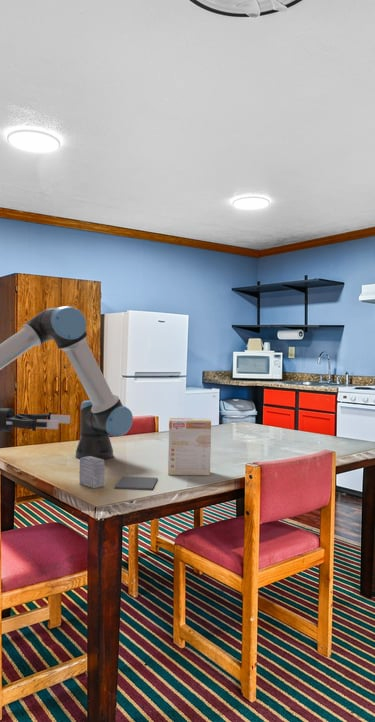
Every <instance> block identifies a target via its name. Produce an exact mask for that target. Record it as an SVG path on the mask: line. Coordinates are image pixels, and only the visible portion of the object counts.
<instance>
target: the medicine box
mask: <svg viewBox="0 0 375 722" xmlns="http://www.w3.org/2000/svg"><path fill="white" fill-rule="evenodd" d="M79 485H81V486H85V487H88V488H91V489H98V488H103V487H104V486H105V459H100V458H96V457H92V456H88V457H82V458H79Z"/></svg>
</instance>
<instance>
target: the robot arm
mask: <svg viewBox="0 0 375 722" xmlns="http://www.w3.org/2000/svg"><path fill="white" fill-rule="evenodd" d="M86 320H87V319H86V317H85V316H84V314H83V312H82V311H80V309H78V308H76V307H73V306H68V305H63V306H57V307H49V308H46V309H44V310H42V311H41V312H39V313H38V314H36V315H35V316H33V317H32V318H31V319H29V320H28V321H26V322H25V323H23V325H22V329H20V330H19V331H18V332H16V333H15V334H12V335H11V336H10V337H8V338H7V339H6V340H4V341H3V342H1V343H0V371H1V370H3V368H5V367H6V366H8V365H9V364H11V363H12V362H14V361H15V360H17V359H18V358H19V357H21V356H22V355H24V354H25V353H27V352H28V351H29V350H31V349H32V348H34V347H35V346H36V347H39V346H41V345H43V344H44V343H45V342H48V341H52V340H53V341H54V343H55V344H56V346H57V348H58V349H59V350H62V351H64V353H65V354H66V356H67V358H68V360H69V363H70V365H71V366H72V368H73V370H74V372H75V374H76V375H77V378H78V380H79V382H80V383H81V385H82V387H83V389H84V391H85V393H86V394H87V397H88V399H89V400H83V401H82V402H81V406H80V438H79V440H78V444H77V446H76V449H75V457H76V458H78V459H80V458H82V457H88V456H92V457H96V458H100V459H103V460H107V459H111V458H113V457H114V450H113V446H112V442H111V439H110V436H111V437H121V436H124V435H126V434H127V433H128V432H129V431H130V429H131V427H132V424H133V422H134V421H133V420H134V417H133V413H132V410H130V409H129V408H128V407H127V406H124V405H123V403H122V401H121V400H120V397H119V396H118V395H115V394H113V392H112V390H111V388H110V386H109V384H108V383H107V381H106V378H105V375H104V374H103V372H102V371H101V368H100V366H99V365H98V362H97V360H96V358H95V356H94V355H93V352H92V350H91V348H90V347H89V344H88V343H87V339H88V333H87V331H86V329H87V328H86V327H87V321H86ZM59 424H71V415H70V414H52V412H50V411H49V412H48V413H35V414H33V413H18V414H15V411H14V409H13V408H7V407H5V408H4V407H1V408H0V432H7V433H8V432H11V431H12V430H13V429H14V428H17V429H25V430H32V432H36V431H37V429H38V430H39V429H40V430H41V429H42V430H45V429H46V430H58V429H59Z"/></svg>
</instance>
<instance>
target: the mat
mask: <svg viewBox="0 0 375 722" xmlns="http://www.w3.org/2000/svg"><path fill="white" fill-rule="evenodd" d="M158 479H159V478H158V477H154V476H153V477H152V476H149V477H148V476H125V475H124V476H122V477H121V478H120V479H119V480H118V482H117V483H116V484H115V486H114V489H116V490H117V489H118V490H139V491H140V490H143V491H153V490H154V488H155V486H156V484H157V482H158Z"/></svg>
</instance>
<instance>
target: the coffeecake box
mask: <svg viewBox="0 0 375 722" xmlns="http://www.w3.org/2000/svg"><path fill="white" fill-rule="evenodd" d="M211 437H212V421H211V419H210V418H185V417H184V418H179V417H178V418H175V417H173V418H171V417H170V418H169V421H168V457H167V461H168V463H167V464H168V465H167V466H168V467H167V474H168V476H169V475H170V476H211V446H212V445H211V440H212V439H211Z"/></svg>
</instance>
